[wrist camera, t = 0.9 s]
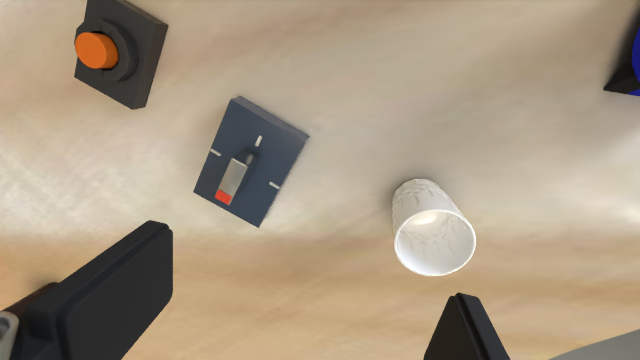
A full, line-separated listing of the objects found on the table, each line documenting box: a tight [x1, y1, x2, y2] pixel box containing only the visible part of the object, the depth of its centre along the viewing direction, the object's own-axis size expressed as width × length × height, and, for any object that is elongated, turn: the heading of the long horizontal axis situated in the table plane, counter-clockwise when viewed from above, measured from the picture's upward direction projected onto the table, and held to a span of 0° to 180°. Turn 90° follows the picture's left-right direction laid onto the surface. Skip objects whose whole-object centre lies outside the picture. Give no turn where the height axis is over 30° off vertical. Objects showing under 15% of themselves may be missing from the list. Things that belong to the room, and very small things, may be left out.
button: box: [75, 32, 119, 68], centre depth 33 cm, size 4×4×2 cm
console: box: [193, 97, 310, 228], centre depth 39 cm, size 14×10×3 cm
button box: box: [74, 0, 168, 110], centre depth 36 cm, size 11×8×4 cm
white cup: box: [392, 179, 476, 276], centre depth 35 cm, size 8×8×10 cm
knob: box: [215, 147, 261, 205], centre depth 36 cm, size 6×2×5 cm, turn 151°
